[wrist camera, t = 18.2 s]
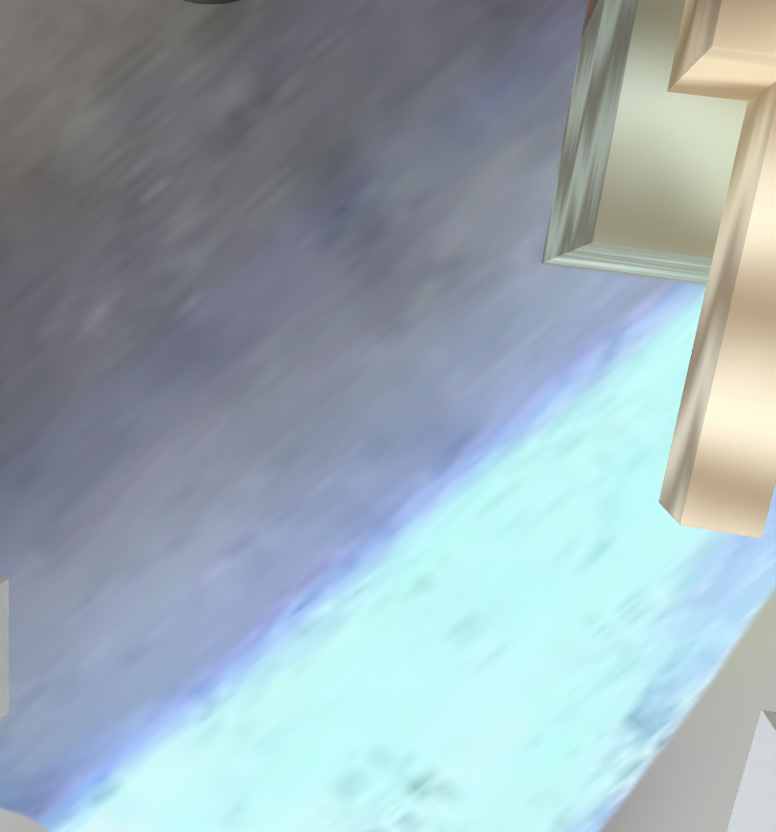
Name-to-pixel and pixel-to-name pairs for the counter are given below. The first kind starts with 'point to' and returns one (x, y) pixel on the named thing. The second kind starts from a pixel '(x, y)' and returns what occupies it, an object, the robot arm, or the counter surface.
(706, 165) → the step stand
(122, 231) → the counter surface
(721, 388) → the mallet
